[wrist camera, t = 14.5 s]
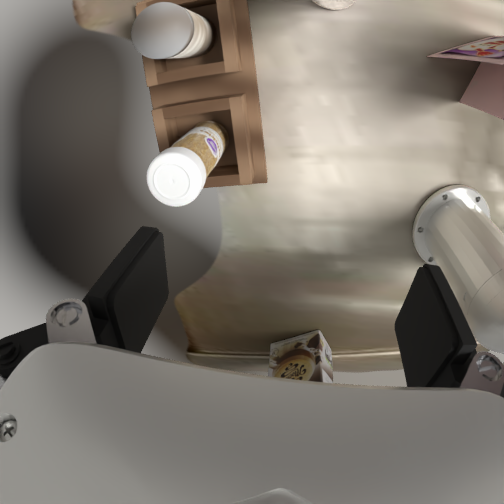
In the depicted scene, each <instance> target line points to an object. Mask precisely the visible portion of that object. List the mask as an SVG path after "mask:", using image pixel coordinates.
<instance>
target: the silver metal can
mask: <svg viewBox="0 0 504 504" xmlns="http://www.w3.org/2000/svg"><path fill="white" fill-rule="evenodd" d="M312 1H313V2H314V3H316V4H317V5H319V6H321V7H323V8H326V9H331V10H341V9H345V8H348V7H350V6H352V5H353V4H354V3H355V2H356V1H357V0H312Z"/></svg>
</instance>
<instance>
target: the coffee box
mask: <svg viewBox="0 0 504 504" xmlns="http://www.w3.org/2000/svg"><path fill="white" fill-rule="evenodd" d="M268 376H269V377H277V378H285V379H293V380H303V381H313V382H324V383H333V370H332V355H331V349H330V347H329V345H328V343H327V342H326V340H325V338H324V336H323V335H322V333H321V331H320V330H316V331H313V332H310V333H306V334H303V335H300V336H296V337H293V338H290V339H286V340H283V341H279V342H275V343H272V344H271V347H270V359H269V370H268Z"/></svg>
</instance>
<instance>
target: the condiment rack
mask: <svg viewBox="0 0 504 504" xmlns="http://www.w3.org/2000/svg"><path fill="white" fill-rule="evenodd" d="M135 7H136V15H137V17H136V19H135V21H134V23H133V26H132V30H131V39H132V42H133V45H134V47H135V48H136V50H137V51H138V52H139V53H140V54H142V58H143V64H144V70H145V76H146V82H147V87H149V89H150V95H151V100H152V106H153V110H152V116H153V121H154V126H155V131H156V136H157V141H158V146H159V151H160V153H161V152H162V151H164V150H166V149H168V148H170V147H171V146H172V145H173V144H174V143H175V142H177V141H178V140H179V139H180V138H182V137H183V136H184V135H185V134H186V133H188V132H189V131H190V130H192V129H193V128H194V127H195V126H196V125H197V124H199V123H201V122H203V121H215V122H217V123H219V124H221V125H222V126H223V127H224V128H225V129H226V131H227V133H228V137H229V144H228V147H227V149H226V151H225V152H224V153H223V154H222V156H221V158H220V159H219V161H218V163H217V164H216V166H215V167H214V168H213V170H212V171H211V172H210V173H209V175H208V177H207V178H206V181H205V184H204V187H203V188H208V187H221V186H233V185H247V184H255V183H267V170H266V160H265V150H264V140H263V131H262V122H261V112H260V103H259V94H258V85H257V77H256V68H255V60H254V51H253V43H252V35H251V27H250V19H249V11H248V3H247V0H145V1H142V2H139V3H137V6H135Z"/></svg>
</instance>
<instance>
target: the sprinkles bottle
mask: <svg viewBox="0 0 504 504" xmlns="http://www.w3.org/2000/svg"><path fill="white" fill-rule="evenodd" d="M228 144H229V137H228V133H227V131H226V129H225V128H224V127H223V126H222V125H221V124H219V123H217V122H215V121H203V122H201V123H199V124H197V125H196V126H195V127H194V128H193V129H192V130H190V131H189V132H188V133H186V134H185V135H184V136H183V137H182V138H180V139H179V140H178V141H177V142H175V143H174V144H173V145H172V146H171V147H170V148H168V149H166V150H164V151H162V152H161V153H160V154H159V155H158V156H156V157H155V158H154V159H153V161H152V162H151V163H150V165H149V167H148V170H147V177H146V178H147V185H148V187H149V190H150V192H151V193H152V194H153V196H154V197H155V198H156V199H157V200H159V201H160V202H162V203H164V204H166V205H169V206H177V207H178V206H184V205H187V204H189V203H191V202H192V201H193V200H194V199H195V198H196V197H197V196H198V194H199V193H200V192H201V190H202V189H203V187H204V184H205V181H206V178H207V177H208V175H209V173H210V172H211V171H212V170H213V168H214V167H215V166H216V164H217V163H218V161H219V159H220V158H221V156H222V154H223V153H224V152H225V151H226V149H227V147H228Z"/></svg>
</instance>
